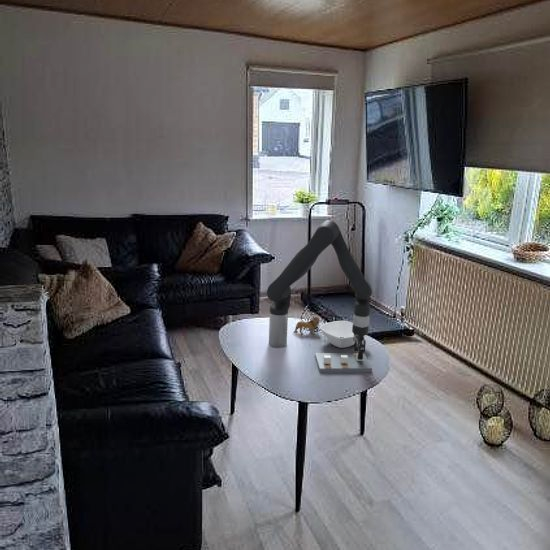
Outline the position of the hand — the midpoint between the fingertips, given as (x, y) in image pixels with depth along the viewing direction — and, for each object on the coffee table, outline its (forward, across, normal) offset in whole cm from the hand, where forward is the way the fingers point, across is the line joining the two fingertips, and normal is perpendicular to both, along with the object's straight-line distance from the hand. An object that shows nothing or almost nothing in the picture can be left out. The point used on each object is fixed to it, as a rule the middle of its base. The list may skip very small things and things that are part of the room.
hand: (358, 355), depth 235 cm
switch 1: (+1, +6, -16) cm, 17 cm away
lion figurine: (+4, -35, -20) cm, 41 cm away
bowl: (+4, -20, -4) cm, 21 cm away
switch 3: (+1, +3, 0) cm, 3 cm away
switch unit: (+4, +3, -8) cm, 9 cm away
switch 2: (+1, +5, -8) cm, 9 cm away
